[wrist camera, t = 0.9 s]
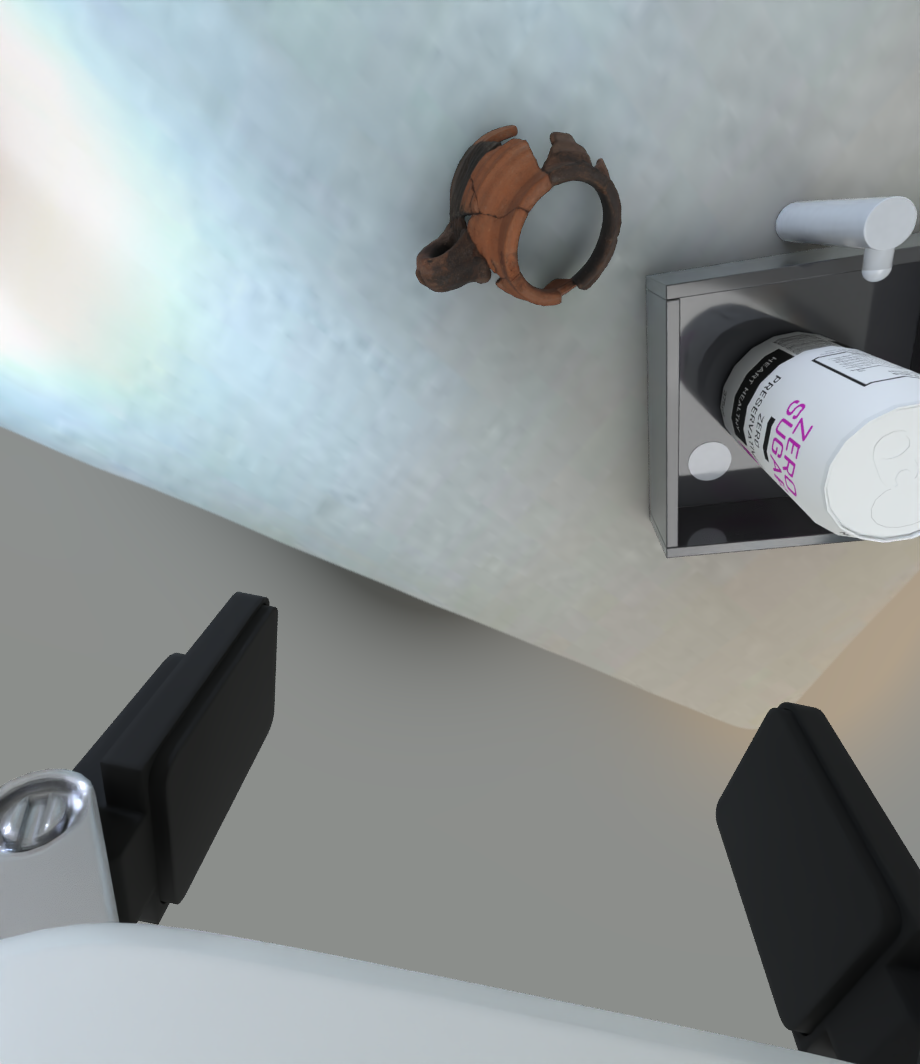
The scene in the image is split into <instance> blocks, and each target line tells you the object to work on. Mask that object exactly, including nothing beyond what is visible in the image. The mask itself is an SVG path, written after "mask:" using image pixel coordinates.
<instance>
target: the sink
mask: <svg viewBox="0 0 920 1064" xmlns="http://www.w3.org/2000/svg"><path fill="white" fill-rule="evenodd" d="M916 220H917V210H916V207H915V205H914V203H913V202H912V201H911V200H910V199H908V198H906V197H903V196H888V197H869V198H850V199H831V200H811V201H796V202H793V203H791V204H789V205H787V206H786V207H785V208H784V209H783V210H782V211H781V212H780V214H779V216H778V218H777V221H776V232H777V235H778V236H779V237H780V238H781V239H782V240H784V241H786V242H794V243H804V244H815V245H825V246H830V247H824V248H818V249H811V250H805V251H799V252H792V253H786V254H780V255H773V256H767V257H761V258H755V259H748V260H742V261H736V262H729V263H723V264H717V265H710V266H704V267H698V268H692V269H685V270H679V271H673V272H666V273H660V274H654V275H647V276H646V289H647V290H646V314H647V378H648V442H649V507H650V521H651V523H652V525H653V528H654V530H655V532H656V535H657V537H658V539H659V542H660V544H661V546H662V549H663V551H664V553H665V556H666V558H673V557H684V556H695V555H706V554H717V553H729V552H740V551H751V550H762V549H773V548H784V547H795V546H807V545H818V544H829V543H840V542H851V541H862V540H863V539H859V538H854V537H848V536H841V535H837V534H835V533H833V532H831V531H829V530H827V529H826V528H824V527H822V526H820V525H818V524H817V523H815V522H814V521H813V520H812V519H811V518H810V517H809V516H808V515H807V514H806V513H805V512H804V511H803V510H802V509H801V508H800V506H799V505H798V504H797V503H796V502H795V501H794V500H793V499H792V498H791V497H790V496H789V495H788V494H787V493H786V492H785V491H784V490H783V489H782V488H781V487H780V486H779V485H778V484H777V483H776V482H775V481H774V480H773V479H772V478H771V477H770V476H769V475H768V473H767V472H766V471H765V470H764V469H763V468H762V467H761V466H760V465H759V464H758V463H757V462H756V461H755V460H754V459H753V458H752V457H751V456H750V455H749V454H748V453H747V452H746V451H745V450H744V449H743V448H742V447H741V446H740V445H739V444H738V443H737V441H736V440H735V439H734V438H733V436H732V435H731V434H730V432H729V431H728V430H727V428H726V427H725V425H724V421H723V416H722V412H721V408H720V407H721V400H722V393H723V387H724V385H725V383H726V381H727V379H728V377H729V375H730V373H731V371H732V370H733V368H734V366H735V365H736V364H737V363H738V362H739V361H740V360H741V359H742V358H743V357H744V356H745V355H746V354H747V353H748V352H749V351H750V350H751V349H752V348H754V347H756V346H757V345H759V344H761V343H763V342H765V341H766V340H768V339H770V338H772V337H774V336H779V335H784V334H789V333H793V332H803V333H810V334H817V335H821V336H824V337H827V338H829V339H832V340H834V341H837V342H839V343H842V344H844V345H847V346H850V347H852V348H855V349H857V350H860V351H862V352H865V353H867V354H870V355H872V356H875V357H878V358H880V359H883V360H885V361H888V362H890V363H893V364H895V365H898V366H901V367H903V368H906V369H908V370H909V369H910V370H911V371H913V372H916V373H918V374H920V315H919V314H920V232H918V233H912V231H913V229H914V227H915V224H916ZM911 233H912V234H911ZM918 319H919V320H918ZM917 325H918V326H917ZM916 330H917V331H916ZM915 336H916V337H915ZM914 341H915V342H914ZM913 347H914V348H913ZM912 352H913V353H912ZM911 358H912V359H911ZM910 363H911V364H910ZM786 496H788V497H786ZM776 497H778V498H776ZM766 498H768V499H766ZM757 499H758V500H757ZM747 500H748V501H747ZM737 501H738V502H737ZM727 502H729V503H727ZM717 503H719V504H717ZM707 504H709V505H707ZM697 505H699V506H697ZM688 506H689V507H688Z"/></svg>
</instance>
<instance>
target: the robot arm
mask: <svg viewBox="0 0 920 1064" xmlns="http://www.w3.org/2000/svg"><path fill="white" fill-rule="evenodd" d="M277 621H278V610H277V608H276V607H272V606H269V600H268V598H267V597H262V596H257V595H252V594H247V593H242V592H236V593H235V594H234V595H233V596H232V597H231V598H230V600H229V601H228V602H227V603H226V605H225V606H224V607H223V608H222V610H221V611H220V612H219V613H218V614H217V616H216V617H215V618H214V620H213V621H212V622H211V623H210V625H209V626H208V627H207V629H206V630H205V631H204V632H203V633H202V635H201V636H200V637H199V638H198V640H197V641H196V642H195V643H194V645H193V646H192V647H191V648H190V650H189V651H188V652H187V653H186V655H184V654H180V653H174V654H172V655H170V656H169V657H168V658H167V659H166V660H165V661H164V662H163V663H162V664H161V665H160V667H159V668H158V669H157V670H156V671H155V672H154V674H153V675H152V676H151V677H150V679H149V680H148V681H147V682H146V683H145V685H144V686H143V687H142V688H141V689H140V690H139V692H138V693H137V694H136V695H135V696H134V698H133V699H132V700H131V701H130V702H129V704H128V705H127V706H126V707H125V708H124V710H123V711H122V712H121V713H120V714H119V716H118V717H117V718H116V719H115V720H114V721H113V723H112V724H111V725H110V726H109V727H108V729H107V730H106V731H105V732H104V733H103V735H102V736H101V737H100V738H99V739H98V741H97V742H96V743H95V744H94V745H93V747H92V748H91V749H90V750H89V751H88V753H87V754H86V755H85V756H84V757H83V758H82V760H81V761H80V762H79V763H78V764H77V766H76V767H75V768H74V769H73V770H72V771H71V770H67V769H45V770H40V771H36V772H31V773H27V774H25V775H23V776H20V777H17V778H15V779H13V780H10V781H8V782H7V783H5V784H4V785H2V786H1V787H0V1064H920V869H919V867H918V866H917V864H916V863H915V861H914V859H913V858H912V856H911V855H910V853H909V851H908V850H907V848H906V846H905V845H904V844H903V842H902V840H901V838H900V837H899V835H898V833H897V832H896V830H895V829H894V827H893V825H892V824H891V822H890V820H889V819H888V817H887V816H886V814H885V812H884V811H883V809H882V808H881V806H880V804H879V803H878V801H877V799H876V798H875V796H874V795H873V793H872V791H871V790H870V788H869V786H868V785H867V783H866V782H865V780H864V778H863V777H862V775H861V773H860V772H859V770H858V769H857V767H856V765H855V764H854V762H853V761H852V759H851V757H850V756H849V754H848V752H847V751H846V749H845V748H844V746H843V745H842V743H841V741H840V739H839V738H838V736H837V735H836V733H835V732H834V730H833V728H832V727H831V725H830V723H829V722H828V720H827V718H826V717H825V715H824V714H823V713H822V712H821V710H819V709H817V708H814V707H809V706H804V705H799V704H794V703H789V702H784V703H782V704H780V705H779V707H778V708H772V709H770V710H769V712H768V713H767V715H766V717H765V718H764V720H763V722H762V724H761V726H760V727H759V729H758V731H757V733H756V735H755V737H754V738H753V740H752V742H751V744H750V746H749V747H748V749H747V751H746V753H745V754H744V756H743V758H742V760H741V762H740V764H739V765H738V767H737V769H736V771H735V772H734V774H733V776H732V778H731V779H730V781H729V783H728V785H727V787H726V789H725V790H724V792H723V794H722V796H721V797H720V799H719V801H718V804H717V808H716V821H717V825H718V828H719V831H720V834H721V837H722V840H723V843H724V846H725V849H726V852H727V856H728V859H729V862H730V865H731V868H732V871H733V874H734V877H735V880H736V883H737V887H738V890H739V893H740V896H741V899H742V902H743V905H744V908H745V911H746V914H747V917H748V921H749V924H750V927H751V930H752V933H753V936H754V939H755V942H756V945H757V948H758V951H759V955H760V957H761V961H762V964H763V967H764V970H765V973H766V976H767V979H768V982H769V985H770V988H771V992H772V995H773V998H774V1001H775V1004H776V1007H777V1010H778V1013H779V1016H780V1018H781V1021H782V1023H783V1024H784V1026H785V1027H786V1028H787V1029H788V1030H792V1033H793V1036H794V1039H795V1042H796V1045H797V1048H798V1050H793V1049H788V1048H783V1047H779V1046H774V1045H769V1044H764V1043H759V1042H755V1041H750V1040H745V1039H740V1038H736V1037H731V1036H726V1035H722V1034H717V1033H712V1032H708V1031H703V1030H698V1029H693V1028H689V1027H684V1026H679V1025H675V1024H670V1023H665V1022H660V1021H656V1020H651V1019H646V1018H641V1017H637V1016H632V1015H627V1014H622V1013H617V1012H612V1011H607V1010H603V1009H598V1008H593V1007H588V1006H583V1005H578V1004H574V1003H569V1002H564V1001H559V1000H554V999H549V998H544V997H540V996H535V995H530V994H524V993H519V992H515V991H510V990H505V989H500V988H496V987H490V986H485V985H481V984H475V983H471V982H466V981H461V980H456V979H451V978H446V977H441V976H436V975H431V974H426V973H421V972H416V971H411V970H406V969H401V968H396V967H391V966H386V965H381V964H376V963H371V962H366V961H361V960H356V959H351V958H346V957H341V956H336V955H331V954H326V953H321V952H316V951H311V950H306V949H301V948H295V947H290V946H284V945H279V944H273V943H267V942H262V941H256V940H251V939H245V938H240V937H234V936H229V935H223V934H218V933H212V932H207V931H201V930H193V929H184V928H177V927H169V926H161V925H153V924H159V922H160V920H161V918H162V916H163V914H164V913H165V911H166V909H167V907H168V905H169V903H173V904H179V903H180V902H181V901H182V899H183V898H184V896H185V895H186V893H187V891H188V889H189V887H190V885H191V883H192V881H193V879H194V877H195V875H196V873H197V871H198V869H199V867H200V865H201V864H202V862H203V859H204V858H205V856H206V854H207V852H208V850H209V848H210V846H211V844H212V842H213V840H214V838H215V836H216V834H217V832H218V830H219V828H220V826H221V824H222V822H223V820H224V818H225V816H226V814H227V812H228V811H229V809H230V807H231V805H232V803H233V800H234V799H235V797H236V795H237V793H238V791H239V789H240V787H241V785H242V783H243V781H244V779H245V777H246V775H247V773H248V771H249V769H250V767H251V766H252V764H253V762H254V760H255V758H256V756H257V754H258V752H259V750H260V748H261V746H262V744H263V742H264V740H265V738H266V736H267V734H268V732H269V730H270V727H271V724H272V721H273V716H274V702H275V676H276V674H275V673H276V649H277ZM138 921H143V922H148V923H153V924H136V923H137V922H138Z"/></svg>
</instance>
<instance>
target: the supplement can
mask: <svg viewBox="0 0 920 1064" xmlns="http://www.w3.org/2000/svg"><path fill="white" fill-rule="evenodd" d="M720 408H721V412H722V416H723V421H724V425H725V427H726V428H727V430H728V431H729V432H730V434H731V435H732V436H733V438H734V439H735V440H736V441H737V443H738V444H739V445H740V446H741V447H742V448H743V449H744V450H745V451H746V452H747V453H748V454H749V455H750V456H751V457H752V458H753V459H754V460H755V461H756V462H757V463H758V464H759V465H760V466H761V467H762V468H763V469H764V470H765V471H766V472H767V473H768V475H769V476H770V477H771V478H772V479H773V480H774V481H775V482H776V483H777V484H778V485H779V486H780V487H781V488H782V489H783V490H784V491H785V492H786V493H787V494H788V495H789V496H790V497H791V498H792V499H793V500H794V501H795V502H796V503H797V504H798V505H799V506H800V508H801V509H802V510H803V511H804V512H805V513H806V514H807V515H808V516H809V517H810V518H811V519H812V520H813V521H814V522H815V523H817V524H818V525H820V526H822V527H824V528H826V529H827V530H829V531H831V532H833V533H835V534H837V535H841V536H848V537H854V538H859V539H863V540H870V541H877V542H883V543H886V542H893V541H900V540H907V539H913V538H915V537H917V536H920V374H918V373H916V372H913V371H911V370H908V369H906V368H903V367H901V366H898V365H895V364H893V363H890V362H888V361H885V360H883V359H880V358H878V357H875V356H872V355H870V354H867V353H865V352H862V351H860V350H857V349H855V348H852V347H850V346H847V345H844V344H842V343H839V342H837V341H834V340H832V339H829V338H827V337H824V336H821V335H817V334H810V333H803V332H793V333H789V334H784V335H779V336H774V337H772V338H770V339H768V340H766V341H765V342H763V343H761V344H759V345H757V346H756V347H754V348H752V349H751V350H750V351H749V352H748V353H747V354H746V355H745V356H744V357H743V358H742V359H741V360H740V361H739V362H738V363H737V364H736V365H735V366H734V368H733V370H732V371H731V373H730V375H729V377H728V379H727V381H726V383H725V385H724V387H723V393H722V400H721V407H720Z"/></svg>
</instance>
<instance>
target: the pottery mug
mask: <svg viewBox="0 0 920 1064" xmlns="http://www.w3.org/2000/svg"><path fill="white" fill-rule="evenodd" d="M517 133H518V131H517V127H516V126H514V125H509V126H505V127H502V128H498V129H495V130H492V131H490V132H488V133H487V134H485V135H483V136H482V137H481V138H479V139H478V140H477V141H476V142H475V143H474V144H473V145H472V146H470V147H469V149H468V150H467V151H466V153H465V154H464V156H463V157H462V159H461V160H460V162H459V164H458V166H457V169H456V171H455V173H454V177H453V180H452V184H451V189H450V222H449V224H448V225H447V227H446V229H445V230H444V232H443V233H442V234H441V235H440V237H438V239H436V240H434V241H433V242H431V243H430V244H429V245H427V246H426V247H425V248H423V249H422V251H421V252H420V253H419V254H418V256H417V270H416V276H417V278H418V280H419V282H420V283H421V284H423V285H425V286H426V287H428V288H429V289H431V290H433V291H435V292H447V291H450V290H454V289H457V288H460V287H462V286H463V285H465V284H467V283H470V282H477V283H480V284H482V283H486V282H488V281H489V280H490V278H491V271H490V269H491V270H492V271H493V272H494V273H497V274H498V275H499V276H500V278H499V279H498V280H497V282H496V285H497V286H498V287H499V288H500V289H502V290H503V291H505V292H507V293H509V294H511V295H512V296H514V297H516V298H519V299H522V300H526V301H529V302H531V303H534V304H536V305H542V306H549V305H557V304H560V303H561V297H562V296H563V295H564V294H566V293H567V292H569V291H570V290H571V289H573V288H574V287H576V286H577V287H578V288H579V289H582V290H587V289H588V288H590V287H591V286H592V285H593V283H594V282H596V280H597V279H598V278H599V277H600V275H601V273H602V272H603V271H604V269H605V268H606V267H607V265H608V263H609V261H610V259H611V257H612V255H613V253H614V250H615V247H616V244H617V237H618V235H619V233H620V227H621V223H622V222H621V203H620V199H619V194H618V192H617V190H616V188H615V186H614V184H613V182H612V181H611V180H610V177H609V173H608V170H607V168H606V166H605V163H604V161H603V159H602V158H600V159H598V160H597V162H596V166H595V167H593V166H592V163H591V160H590V157H589V155H588V154H587V152H586V150H585V149H584V148H583V147H582V146H581V145H579V144H577V143H576V142H575V140H574V139H573V137H572V136H571V135H570V134H567V133H560V132H553V133H551V134H550V141H551V144H552V145H553V146H552V147H551V149H550V152H549V155H548V158H547V160H546V161H545V163H544V165H543V167H542V168H540V167H539V166H538V163H537V160H536V158H535V157H534V155H533V153H532V151H531V149H530V147H529V144H528V143H527V141H526V140H521V139H511V140H510V141H508V142H507V143H505V144H504V145H502V144H501V141H503V140H505V139H508V138H510V137H513V136H516V135H517ZM568 181H582V182H585V183H588V184H589V185H591V186H592V187H594V188H595V190H596V191H597V193H598V195H599V197H600V200H601V203H602V207H603V223H602V228H601V232H600V236H599V239H598V242H597V245H596V247H595V249H594V251H593V253H592V255H591V257H590V258H589V260H588V261H587V263H586V264H585V265H584V266H583V267H582V268H581V269H580V270H579V271H578V272H577V273H576V274H575V275H574V276H573V277H572V278H570V279H555V280H553V281H552V282H550V283H549V284H548V285H547V286H546V287H545V288H543V289H539V288H536V287H534V286H532V285H531V284H529V283H528V282H527V281H526V280H525V278H524V277H523V275H522V273H521V272H520V269H519V265H518V255H517V249H518V241H519V236H520V233H521V229H522V227H523V224H524V222H525V220H526V218H527V216H528V213H529V212H530V210H531V209H532V208H533V206H534V205H535V204H536V202H537V201H538V200H539V199H540V198H541V197H542V196H543V195H545V194H546V193H547V192H548V191H549V190H550V189H551V188H552V187H553V186H555V185H559V184H561V183H564V182H568ZM468 215H471V218H470V219H469V221H468V224H467V225H466V222H465V216H468Z"/></svg>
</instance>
